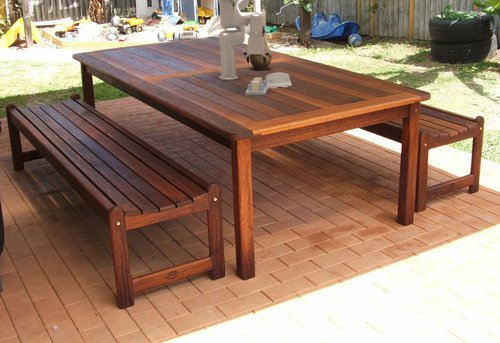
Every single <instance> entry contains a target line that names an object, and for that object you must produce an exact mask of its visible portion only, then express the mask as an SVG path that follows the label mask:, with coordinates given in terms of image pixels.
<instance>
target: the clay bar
mask: <svg viewBox="0 0 500 343" xmlns="http://www.w3.org/2000/svg"><path fill="white" fill-rule="evenodd" d="M261 84H263V77H254V78H253V81H252V92H259V91H260V89H261Z"/></svg>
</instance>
